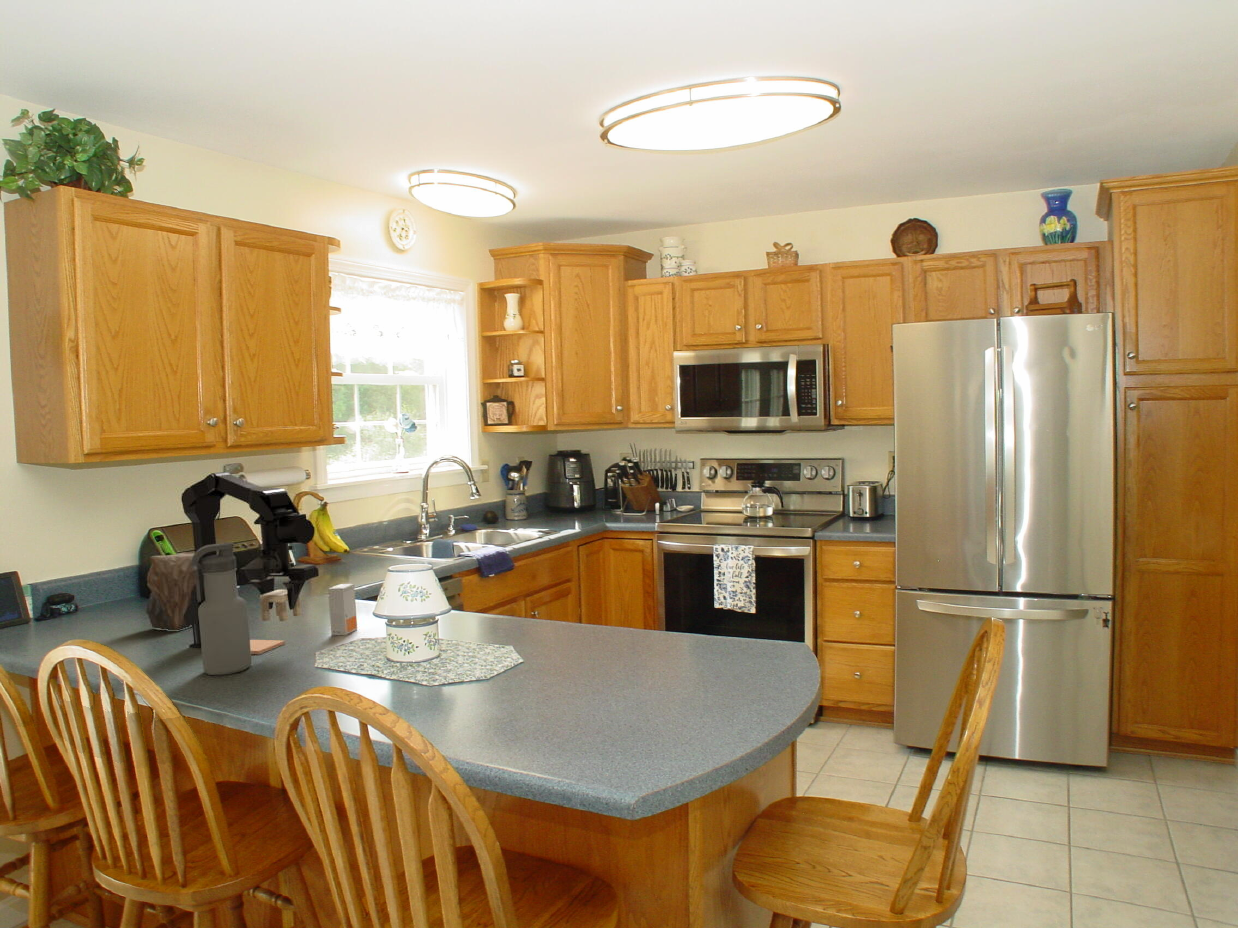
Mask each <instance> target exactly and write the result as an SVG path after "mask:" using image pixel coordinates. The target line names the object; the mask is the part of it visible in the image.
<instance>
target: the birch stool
mask: <svg viewBox="0 0 1238 928" xmlns="http://www.w3.org/2000/svg"><path fill="white" fill-rule="evenodd" d="M300 599H301V598H300V596H299V597H298V599H297V602H296V605H295V607H294V609H292V615H293V617H299V616H301V615H302V613H301V602H300ZM259 600H260V609H261V610H260V611H261V618H262V619H261V620H262V622H268V621H270V620H271V614H270V613H271V612H270V609H269V602H273V603H275V604H274V605H275V613H276V616H277V617H278V619H279V622H285V621H288V615H287V602H288V594H287V589H276V590H275V589H274V591H272V592H269V593H266V594H263V595H261V594H260V595H259Z"/></svg>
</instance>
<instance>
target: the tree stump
mask: <svg viewBox="0 0 1238 928" xmlns="http://www.w3.org/2000/svg"><path fill="white" fill-rule="evenodd" d="M194 554H195V552H185V551H184V552H179V553H176V554H169V555H151V556H150V557H149V560H150V562H151V564H150V565H151V566H150V567H149V570H148V572H147V575H146V583H147V585H146V586H147V587H148V589H149V590H150V592H151V593H150V594H149V598H148V600H147V601H148V602H147V606H146V609H145V613H146V615H147V618H148V620H149V622H150V624H151V627H152V628H153V627H154V628H161V629H168V630H180V629H183V628H186V627H189V626H190V625H192V624H186V623H185V620H184V617H183V615H184V613H185V612H186V610H187V608H188V607H189V605H190V603H191V592H192V590H193V588H194V586H195V584H196V581H195V571H194V570H193V569H192V557H193V555H194Z"/></svg>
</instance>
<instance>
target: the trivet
mask: <svg viewBox="0 0 1238 928" xmlns="http://www.w3.org/2000/svg"><path fill="white" fill-rule="evenodd" d="M283 645H286V640H278V639H277V640H275V639H274V640H273V639H272V640H270V639H250V649H251V655H261V654H263V653H266V652H268V651H271V650H273V648H274V649H276V648H278V647H280V646H283Z"/></svg>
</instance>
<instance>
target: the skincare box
mask: <svg viewBox="0 0 1238 928" xmlns="http://www.w3.org/2000/svg"><path fill="white" fill-rule="evenodd" d="M327 590H328V591H327V592H328V593H327V594H328V606H329V620H330V621H329V622H330V635H331V636H347V635H348V634H350V633H353V632H354V631H357V630H358V620H357V608H356V607H357V606H356V605H357V604H356V592H355V584H354V583H340V584H338V585H334V586H332V587H329V588H328V589H327Z"/></svg>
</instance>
